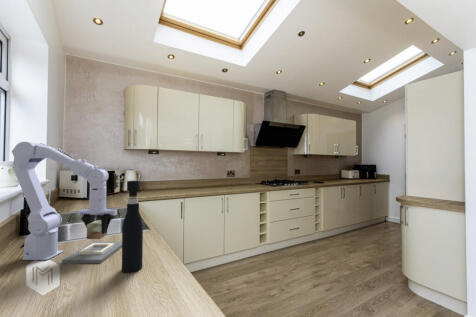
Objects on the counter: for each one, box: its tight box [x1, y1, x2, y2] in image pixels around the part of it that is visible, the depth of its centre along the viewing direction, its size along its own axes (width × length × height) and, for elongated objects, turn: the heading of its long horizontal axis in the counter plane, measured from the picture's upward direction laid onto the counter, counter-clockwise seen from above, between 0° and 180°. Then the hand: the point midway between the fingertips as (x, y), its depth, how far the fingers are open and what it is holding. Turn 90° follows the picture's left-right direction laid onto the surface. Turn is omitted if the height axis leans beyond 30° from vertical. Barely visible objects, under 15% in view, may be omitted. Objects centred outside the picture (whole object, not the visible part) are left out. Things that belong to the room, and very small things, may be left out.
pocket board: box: [61, 241, 122, 264], centre depth 89 cm, size 14×18×2 cm
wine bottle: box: [121, 180, 144, 274], centre depth 76 cm, size 6×6×30 cm
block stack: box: [86, 220, 108, 240], centre depth 89 cm, size 5×5×6 cm
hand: (97, 233), depth 89 cm, fingers closed on block stack, 5 cm apart
